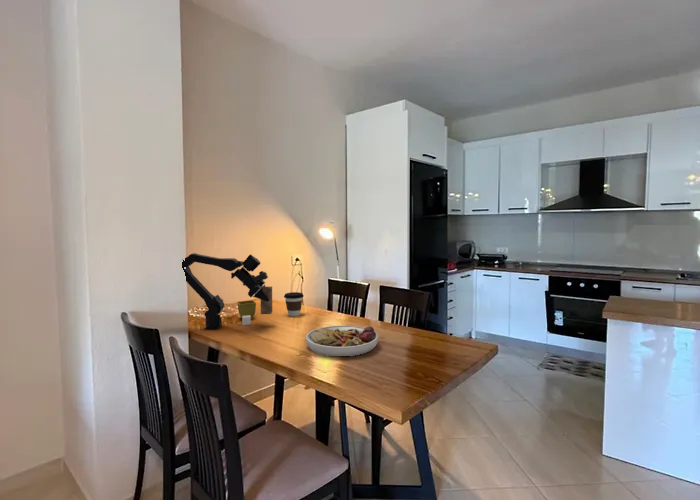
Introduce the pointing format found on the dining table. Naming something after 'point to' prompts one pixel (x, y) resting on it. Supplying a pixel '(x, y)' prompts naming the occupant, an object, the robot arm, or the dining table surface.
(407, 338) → the dining table surface
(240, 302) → the flower pot
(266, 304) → the walnut block
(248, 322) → the ceramic cube
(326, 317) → the dining table surface
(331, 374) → the dining table surface
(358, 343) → the bowl
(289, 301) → the coffee cup
